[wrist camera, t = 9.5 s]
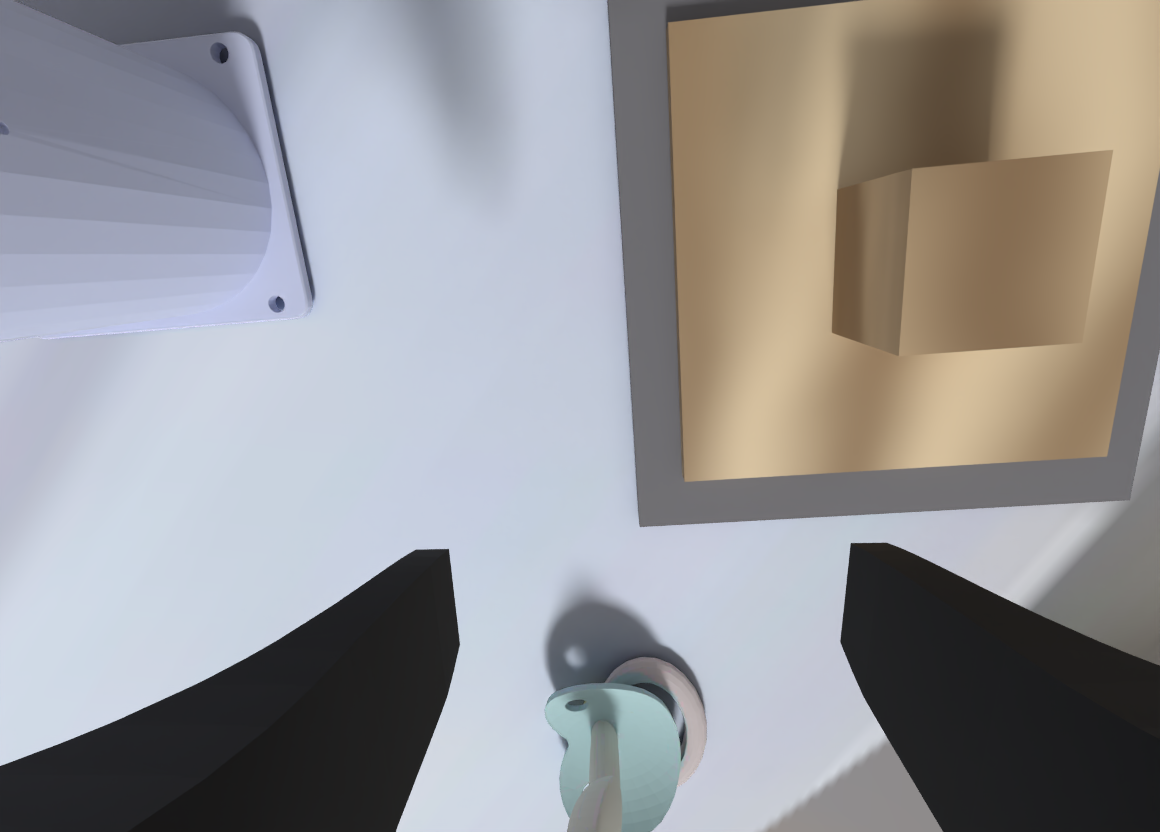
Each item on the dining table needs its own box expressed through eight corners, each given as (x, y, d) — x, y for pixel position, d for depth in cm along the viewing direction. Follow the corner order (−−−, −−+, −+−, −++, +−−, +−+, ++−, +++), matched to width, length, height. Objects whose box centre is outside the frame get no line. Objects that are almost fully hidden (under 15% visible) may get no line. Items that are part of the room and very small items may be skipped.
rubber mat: (638, 520, 20) (639, 526, 19) (607, -4, 16) (607, -13, 15) (1116, 493, 19) (1129, 499, 18) (1225, -77, 15) (1246, -88, 14)
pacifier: (694, 631, 21) (539, 649, 22) (736, 777, 15) (522, 800, 16) (711, 780, 23) (568, 795, 24) (753, 962, 17) (562, 978, 18)
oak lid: (682, 474, 19) (705, 542, 14) (665, 31, 15) (689, -59, 11) (1090, 450, 18) (1249, 514, 14) (1173, -27, 14) (1423, -150, 10)
